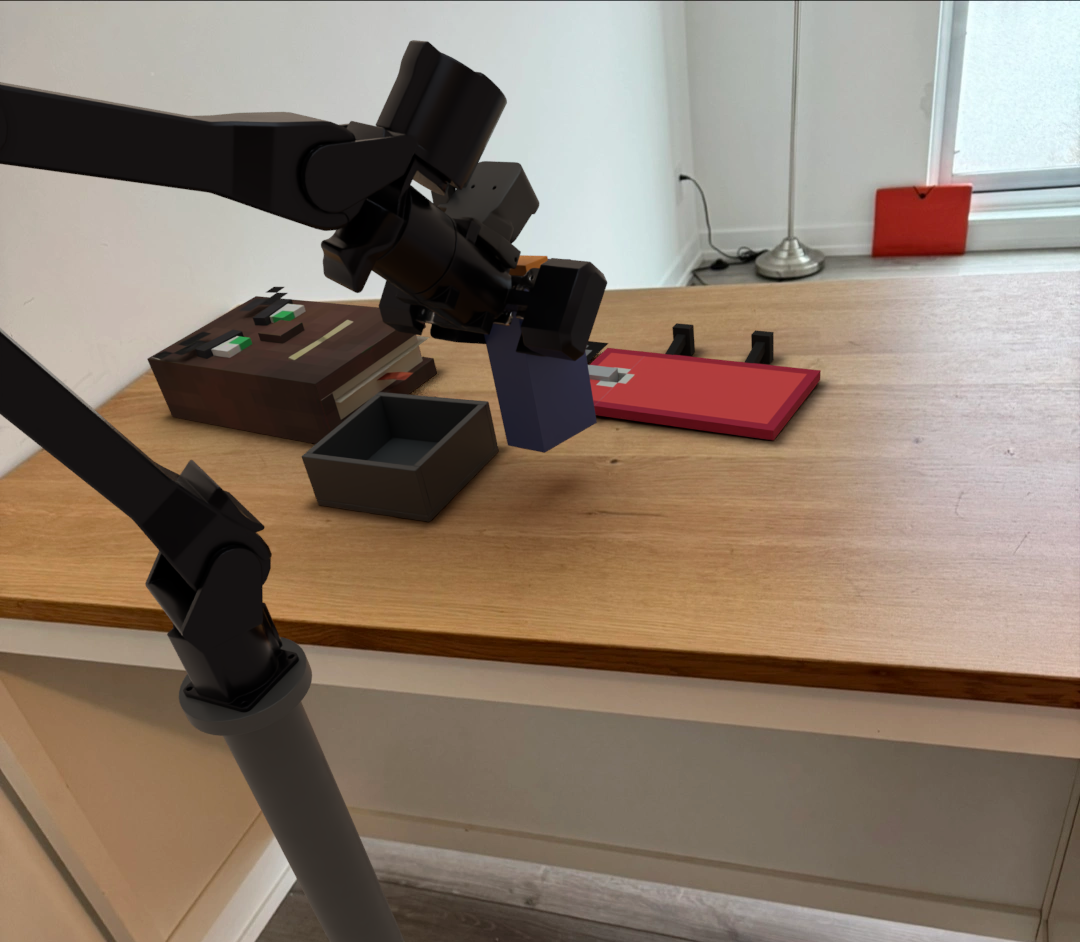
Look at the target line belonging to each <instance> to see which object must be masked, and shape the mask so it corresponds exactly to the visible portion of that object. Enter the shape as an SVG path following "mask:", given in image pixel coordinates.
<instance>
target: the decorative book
mask: <svg viewBox="0 0 1080 942" xmlns="http://www.w3.org/2000/svg"><path fill="white" fill-rule="evenodd" d="M283 289H285V286H273V287H271V288H270V289H268V290H267V291H265V293H271V294H273V293H274V294H273V295H271V296H270V297H269V296H268V297H267V296H258V295H256V296H254V297H251V298H249V299H248V300H246V301H245V302H243V303H241V304H239V305H238V306H236V307H235V308H233V309H231V310H229V311H227V312H226V313H224V314H222V315H221V316H219V317H217V318H216V319H214V320H212V321H210V322H208V323H206V324H205V325H203V326H202V327H200V328H198V329H196V330H194V331H193V332H191V333H189V334H188V335H186V336H184V337H182V338H181V339H179V340H177V341H176V342H174V343H172V344H170V345H169V346H167V347H164V348H163V349H161V350H160V351H158V352H156V353H155V354H153V355H151V356H150V357H148V358H147V362H148V364H149V367H150V370H151V371H152V373H153V376H154V378H155V380H156V383H157V385H158V387H159V389H160V392H161V395H162V397H163V398H164V401H165V403H166V405H167V408H168V410H169V413H170V414H171V415H170V416H171V417H172V418H176V419H181V420H182V419H183V420H187V421H193V422H198V423H203V424H209V425H214V426H219V427H224V428H229V429H235V430H240V431H244V432H251V433H255V434H262V435H265V436H266V435H267V436H272V437H277V438H283V439H287V440H294V441H298V442H302V443H303V442H304V443H309V444H313V445H316V444H317V443H318V442H319V441H320V440H322V439H323V438H324V437H325V436H326V435H328V434H329V433H330V432H331V431H332V430H334V429H335V428H336V427H337V426H338V425H340V424H341V423H342V422H343V421H344V420H346V419H347V418H348V417H349V416H351V415H352V414H353V413H354V412H355V411H357V410H358V409H359V408H360V407H361V406H363V405H364V404H365V403H366V402H367V401H369V400H370V399H371V398H372V397H373V396H375V395H376V394H377V393H378V392H384V393H396V394H407V395H411V393H412V392H414V391H415V390H417V389H418V388H419V387H421V386H422V385H423V384H424V383H426V382H427V381H429V380H430V379H432V378H433V377H434V376H435V375H437V374H438V371H437V367H436V363H435V359H434V357H429V356H423V355H422V352H421V347H420V346H421V345H422V344H424V342H426V341H427V340H429V339H430V337H431V336H423V335H415V334H409V333H403V332H398V331H396V330H395V329H393V328H392V327H390V326H388V325H387V324H385V323H383V321H382V317H381V313H380V309H379V306H367V305H366V306H365V305H355V304H347V303H345V304H344V303H333V302H326V301H325V302H324V301H313V300H303V299H293V298H283V297H285V296H286V295H288V292H280V291H281V290H283ZM417 321H418V320H417ZM420 323H422V324H423V325H424V329H423V330H425V329H426V328H427V325H426V323H423V322H420Z"/></svg>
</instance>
